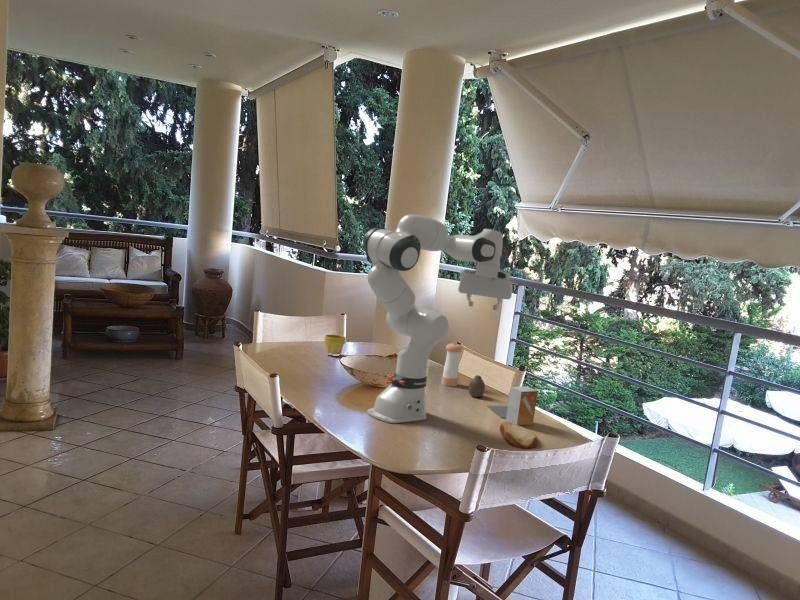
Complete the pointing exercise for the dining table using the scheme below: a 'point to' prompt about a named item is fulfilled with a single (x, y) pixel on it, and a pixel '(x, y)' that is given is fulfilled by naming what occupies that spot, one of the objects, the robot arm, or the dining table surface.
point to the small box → (521, 405)
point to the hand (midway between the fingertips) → (482, 307)
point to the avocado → (476, 387)
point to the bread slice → (518, 436)
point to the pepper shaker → (451, 365)
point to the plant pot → (334, 343)
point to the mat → (499, 410)
